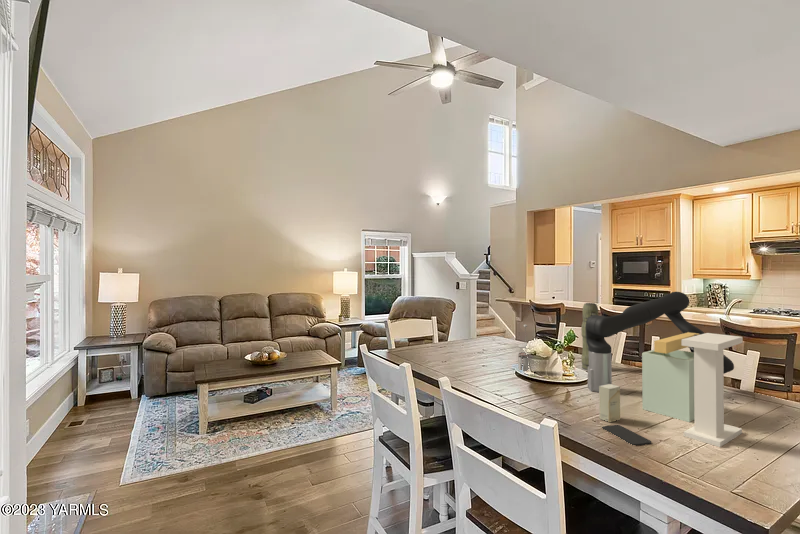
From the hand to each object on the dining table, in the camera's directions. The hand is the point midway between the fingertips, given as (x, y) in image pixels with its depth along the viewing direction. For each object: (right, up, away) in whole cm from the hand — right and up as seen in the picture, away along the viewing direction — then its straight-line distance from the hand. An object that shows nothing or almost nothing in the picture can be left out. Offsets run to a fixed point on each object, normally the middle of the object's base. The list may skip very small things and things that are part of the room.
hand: (688, 335), depth 164 cm
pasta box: (-7, -4, -5) cm, 10 cm away
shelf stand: (-11, -28, -28) cm, 41 cm away
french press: (-49, -28, +51) cm, 77 cm away
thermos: (-12, -27, +57) cm, 65 cm away
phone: (-40, -29, -27) cm, 56 cm away
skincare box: (-38, -29, -13) cm, 49 cm away
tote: (-9, -28, -6) cm, 30 cm away
